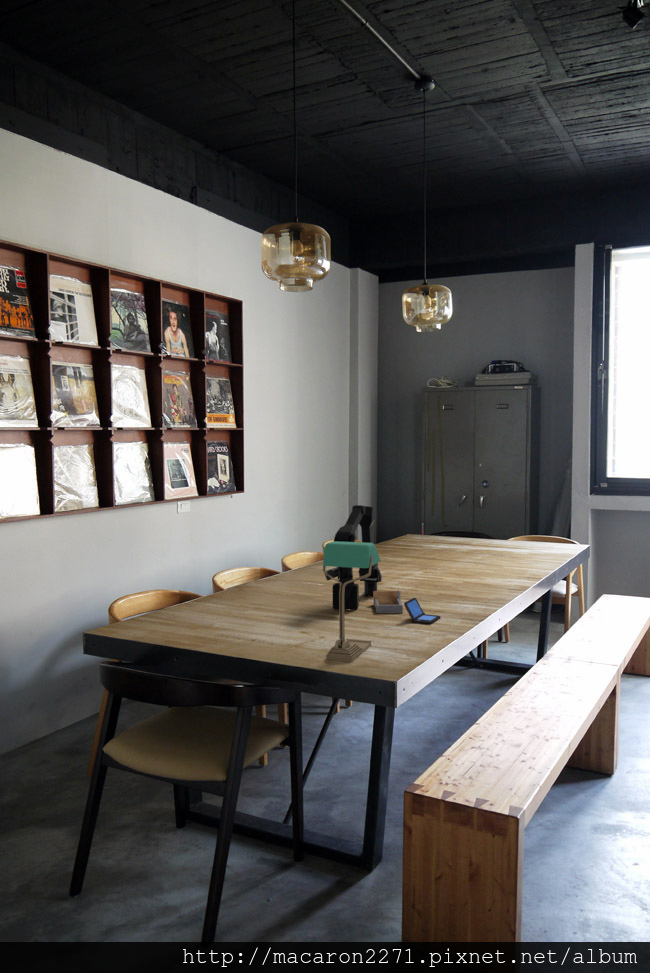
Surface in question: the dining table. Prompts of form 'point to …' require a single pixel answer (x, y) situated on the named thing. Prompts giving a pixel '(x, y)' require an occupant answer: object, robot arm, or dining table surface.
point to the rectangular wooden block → (386, 596)
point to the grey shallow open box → (389, 607)
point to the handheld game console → (419, 613)
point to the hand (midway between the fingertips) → (345, 600)
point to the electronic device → (352, 600)
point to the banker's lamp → (344, 557)
